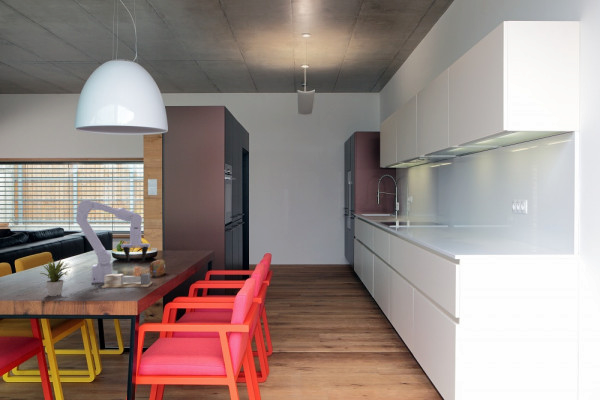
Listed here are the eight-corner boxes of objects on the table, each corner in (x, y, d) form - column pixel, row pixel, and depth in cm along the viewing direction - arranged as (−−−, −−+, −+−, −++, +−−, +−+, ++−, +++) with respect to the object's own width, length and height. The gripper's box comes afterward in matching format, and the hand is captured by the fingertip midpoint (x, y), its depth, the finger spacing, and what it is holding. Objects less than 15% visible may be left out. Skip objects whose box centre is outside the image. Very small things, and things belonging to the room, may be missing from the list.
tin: (153, 277, 260) (153, 262, 260) (148, 277, 261) (148, 262, 261) (166, 273, 275) (166, 258, 275) (161, 272, 275) (161, 258, 275)
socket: (140, 284, 235) (140, 275, 235) (143, 282, 241) (143, 273, 241) (148, 284, 235) (148, 274, 235) (150, 282, 241) (150, 273, 241)
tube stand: (101, 287, 230) (101, 276, 230) (107, 283, 240) (107, 273, 240) (148, 286, 233) (148, 275, 233) (152, 282, 243) (152, 272, 243)
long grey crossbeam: (116, 283, 235) (116, 267, 235) (118, 281, 238) (118, 267, 238) (145, 282, 236) (145, 267, 236) (146, 281, 239) (146, 266, 239)
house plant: (67, 297, 207) (67, 260, 207) (33, 299, 204) (32, 261, 204) (76, 291, 221) (75, 256, 221) (43, 292, 218) (43, 257, 218)
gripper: (119, 236, 248) (119, 262, 248) (148, 236, 249) (148, 261, 250) (123, 235, 255) (123, 260, 255) (150, 235, 256) (150, 260, 257)
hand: (135, 261), depth 253 cm, fingers open, 7 cm apart
